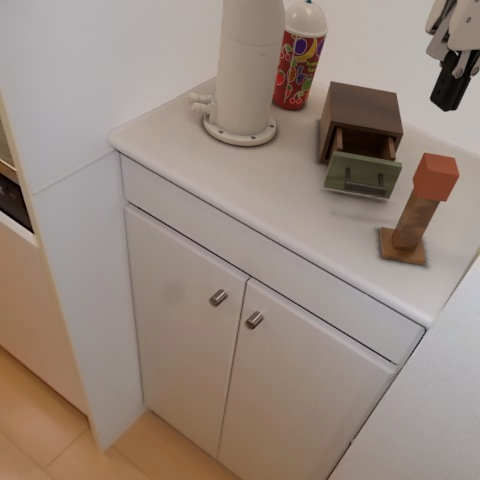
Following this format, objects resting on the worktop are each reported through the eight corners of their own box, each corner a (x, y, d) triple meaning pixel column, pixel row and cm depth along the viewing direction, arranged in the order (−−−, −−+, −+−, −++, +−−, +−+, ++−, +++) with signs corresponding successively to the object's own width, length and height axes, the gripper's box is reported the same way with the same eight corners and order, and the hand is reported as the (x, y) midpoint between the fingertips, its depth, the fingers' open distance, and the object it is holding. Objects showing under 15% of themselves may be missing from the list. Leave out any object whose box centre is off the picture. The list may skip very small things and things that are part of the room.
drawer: (391, 218, 78) (405, 185, 74) (323, 206, 78) (333, 172, 74) (383, 155, 89) (395, 124, 85) (324, 144, 89) (332, 112, 85)
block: (415, 196, 67) (427, 169, 64) (412, 178, 69) (424, 152, 66) (446, 202, 67) (460, 175, 64) (441, 184, 69) (454, 157, 66)
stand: (382, 258, 73) (408, 200, 66) (379, 230, 77) (404, 173, 70) (423, 265, 74) (454, 208, 66) (419, 237, 78) (447, 180, 70)
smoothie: (307, 117, 96) (336, -3, 81) (263, 107, 97) (283, -15, 81) (312, 96, 102) (340, -20, 87) (270, 87, 102) (290, -31, 87)
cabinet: (387, 174, 87) (403, 133, 82) (318, 162, 87) (330, 120, 81) (381, 132, 96) (396, 92, 90) (319, 121, 96) (330, 80, 90)
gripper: (551, -94, 53) (468, 84, 67) (438, -100, 47) (373, 96, 61) (610, -70, 49) (509, 115, 63) (495, -73, 43) (412, 129, 57)
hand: (442, 105), depth 62 cm, fingers closed
